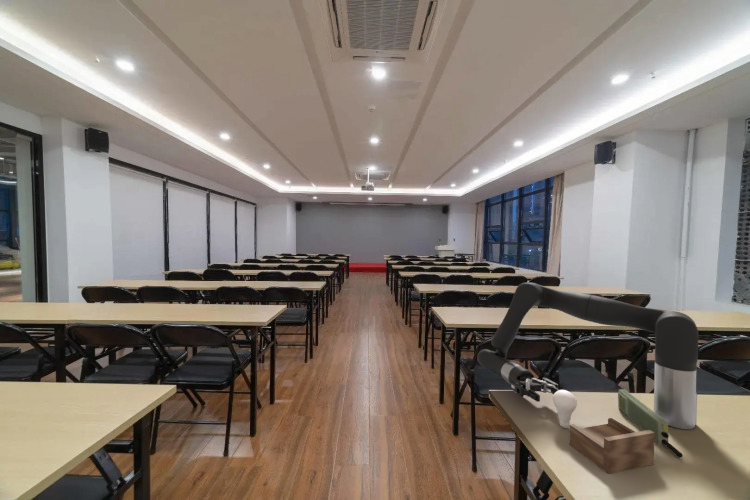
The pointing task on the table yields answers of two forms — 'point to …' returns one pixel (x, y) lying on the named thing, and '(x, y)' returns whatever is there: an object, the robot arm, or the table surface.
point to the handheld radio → (645, 419)
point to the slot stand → (614, 446)
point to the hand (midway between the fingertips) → (550, 397)
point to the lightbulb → (564, 406)
